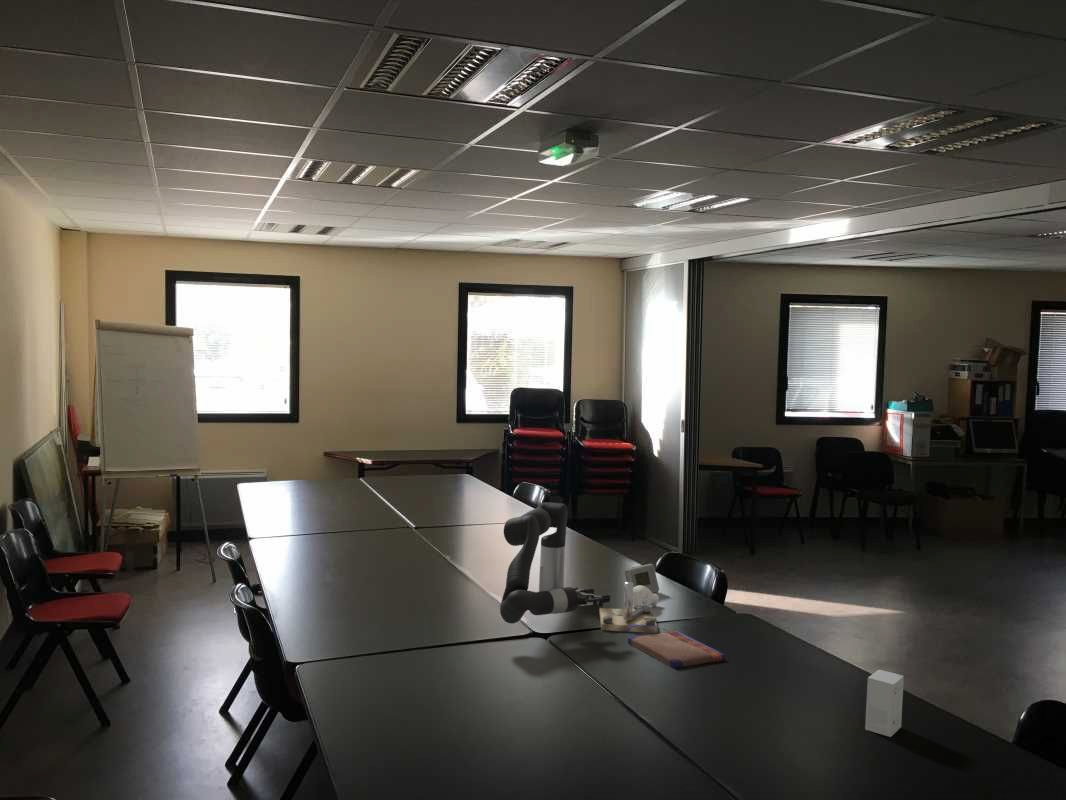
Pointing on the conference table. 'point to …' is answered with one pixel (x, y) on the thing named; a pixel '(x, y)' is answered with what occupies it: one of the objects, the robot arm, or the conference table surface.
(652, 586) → the digital clock
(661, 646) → the clutch
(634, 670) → the conference table surface
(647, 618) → the tribrach base
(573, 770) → the conference table surface
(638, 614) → the footscrew lever
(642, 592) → the white lumpy figure
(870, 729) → the small box
